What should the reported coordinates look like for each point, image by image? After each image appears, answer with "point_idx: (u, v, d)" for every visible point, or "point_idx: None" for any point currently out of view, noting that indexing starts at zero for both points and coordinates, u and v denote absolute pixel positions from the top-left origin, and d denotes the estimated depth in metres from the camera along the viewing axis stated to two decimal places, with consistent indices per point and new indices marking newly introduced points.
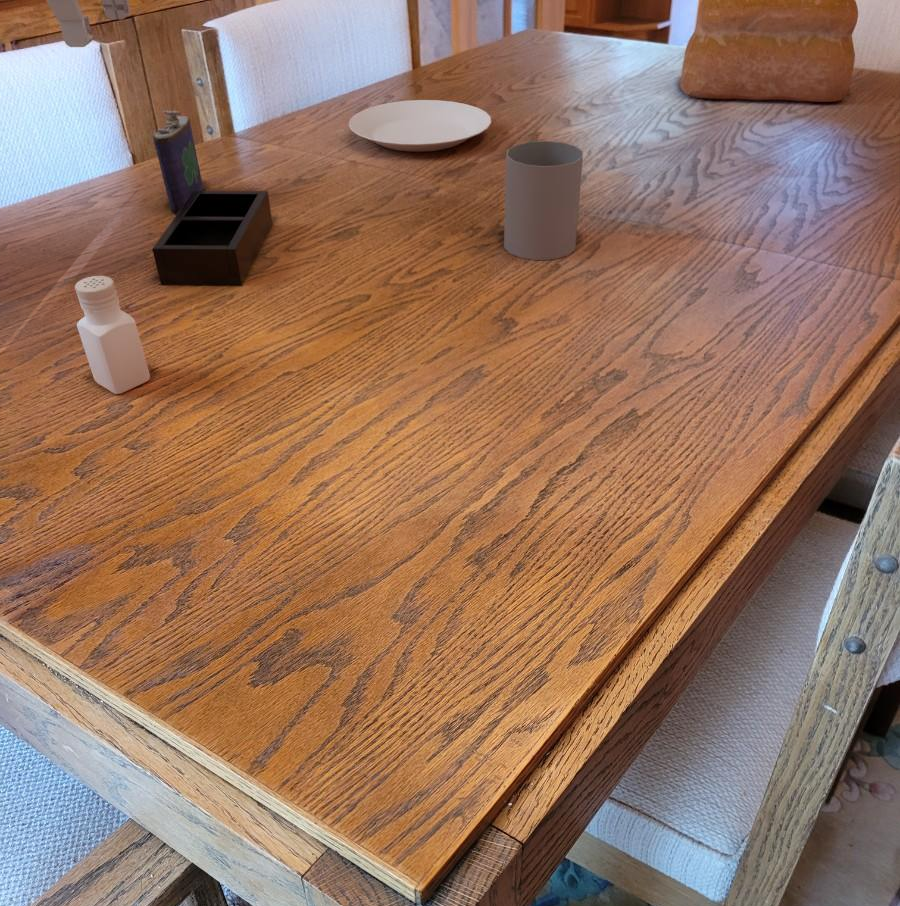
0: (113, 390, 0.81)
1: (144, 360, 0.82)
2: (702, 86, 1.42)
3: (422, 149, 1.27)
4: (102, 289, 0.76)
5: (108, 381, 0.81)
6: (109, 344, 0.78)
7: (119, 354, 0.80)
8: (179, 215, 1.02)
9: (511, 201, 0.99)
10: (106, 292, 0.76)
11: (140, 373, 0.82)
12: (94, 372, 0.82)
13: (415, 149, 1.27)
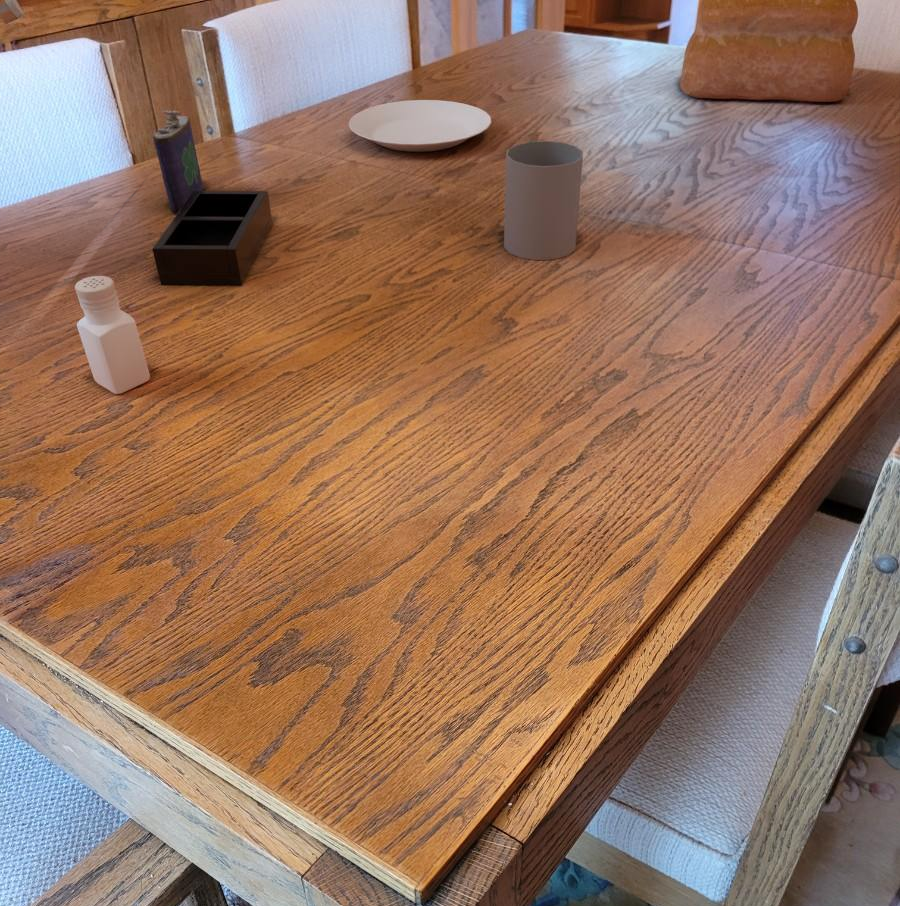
0: (113, 390, 0.81)
1: (144, 360, 0.82)
2: (702, 86, 1.42)
3: (422, 149, 1.27)
4: (102, 289, 0.76)
5: (108, 381, 0.81)
6: (109, 344, 0.78)
7: (119, 354, 0.80)
8: (179, 215, 1.02)
9: (511, 201, 0.99)
10: (106, 292, 0.76)
11: (140, 373, 0.82)
12: (94, 372, 0.82)
13: (415, 149, 1.27)
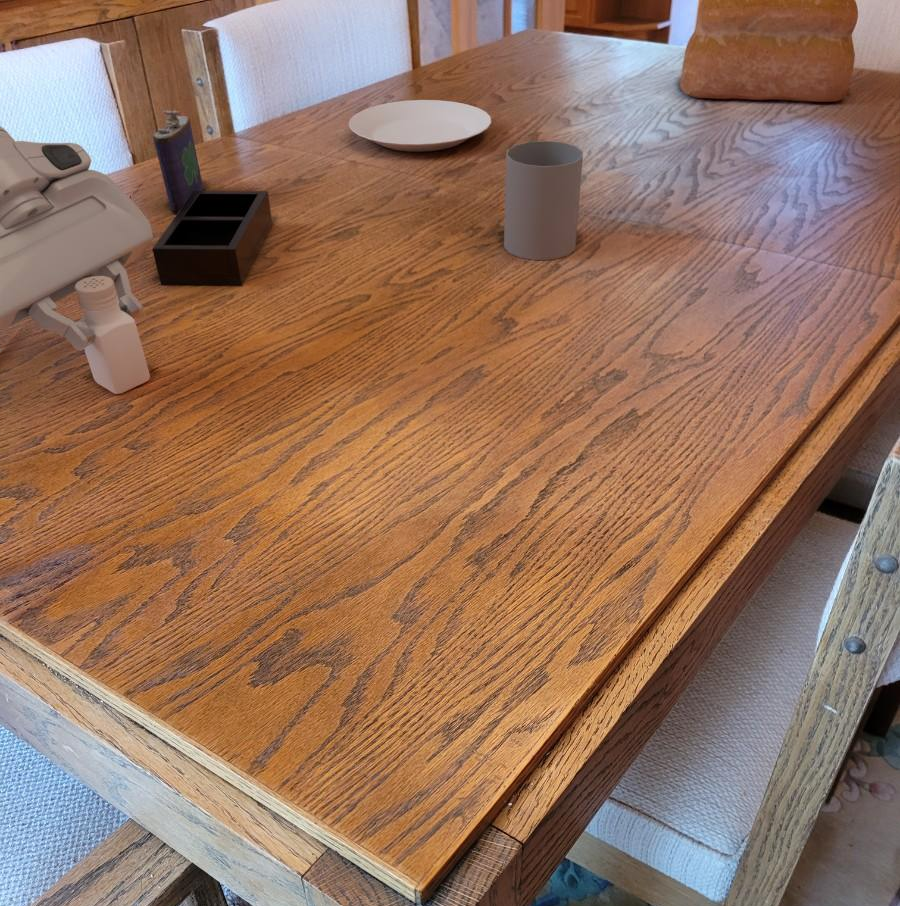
0: (113, 390, 0.81)
1: (144, 360, 0.82)
2: (702, 86, 1.42)
3: (422, 149, 1.27)
4: (102, 289, 0.76)
5: (108, 381, 0.81)
6: (109, 344, 0.78)
7: (119, 354, 0.80)
8: (179, 215, 1.02)
9: (511, 201, 0.99)
10: (105, 292, 0.76)
11: (140, 373, 0.82)
12: (94, 372, 0.82)
13: (415, 149, 1.27)
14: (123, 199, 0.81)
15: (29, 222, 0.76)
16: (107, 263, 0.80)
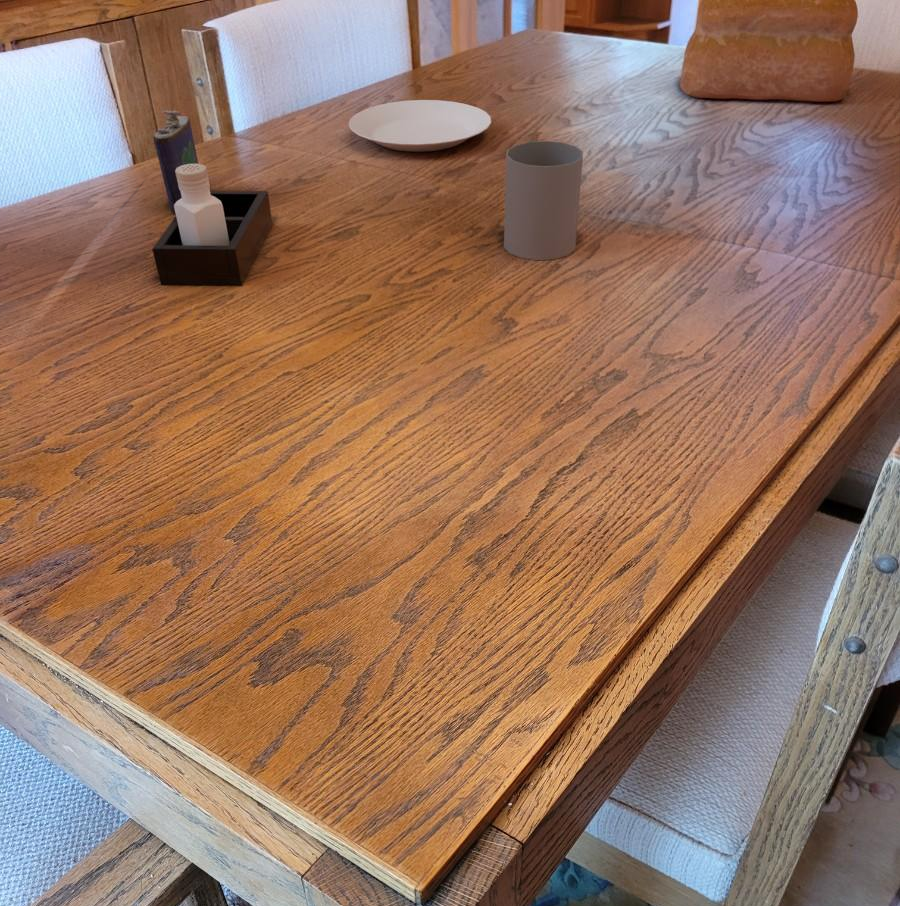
0: None
1: (227, 238, 0.99)
2: (702, 86, 1.43)
3: (422, 149, 1.27)
4: (198, 172, 0.93)
5: None
6: (201, 220, 0.95)
7: (208, 230, 0.96)
8: None
9: (511, 201, 0.99)
10: (200, 175, 0.93)
11: None
12: None
13: (415, 149, 1.27)
14: None
15: None
16: None
